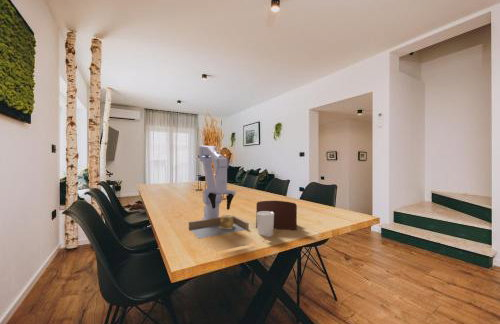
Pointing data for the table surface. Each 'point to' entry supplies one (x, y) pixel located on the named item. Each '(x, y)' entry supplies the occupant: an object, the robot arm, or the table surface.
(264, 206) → the letter holder
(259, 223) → the white cup
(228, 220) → the ochre block
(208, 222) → the arena
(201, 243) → the table surface
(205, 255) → the table surface
